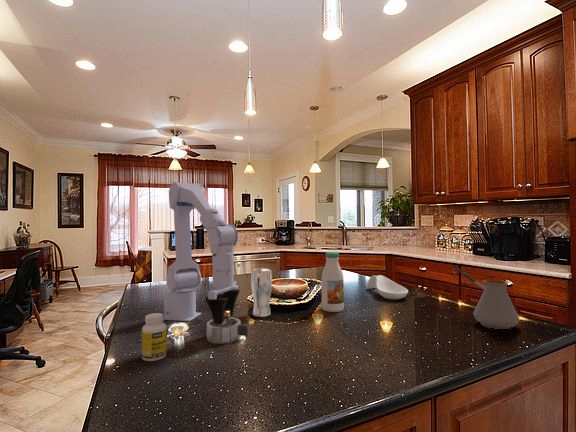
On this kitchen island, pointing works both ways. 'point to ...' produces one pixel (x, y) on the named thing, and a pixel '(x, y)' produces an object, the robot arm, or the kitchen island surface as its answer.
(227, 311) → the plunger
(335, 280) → the milk bottle
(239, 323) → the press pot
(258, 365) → the kitchen island surface
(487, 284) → the coffee pot
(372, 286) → the spoon rest
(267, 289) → the beer glass
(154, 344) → the supplement bottle
